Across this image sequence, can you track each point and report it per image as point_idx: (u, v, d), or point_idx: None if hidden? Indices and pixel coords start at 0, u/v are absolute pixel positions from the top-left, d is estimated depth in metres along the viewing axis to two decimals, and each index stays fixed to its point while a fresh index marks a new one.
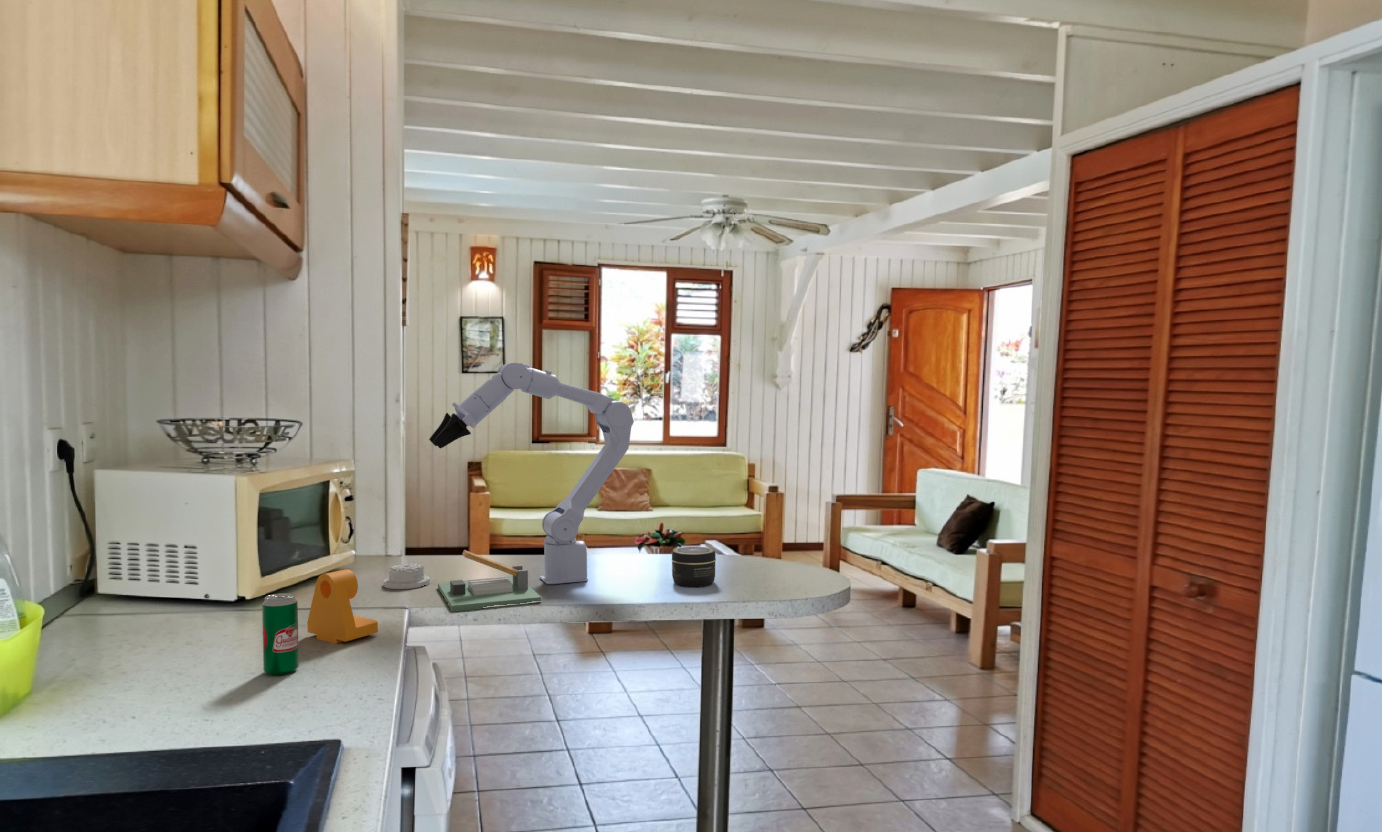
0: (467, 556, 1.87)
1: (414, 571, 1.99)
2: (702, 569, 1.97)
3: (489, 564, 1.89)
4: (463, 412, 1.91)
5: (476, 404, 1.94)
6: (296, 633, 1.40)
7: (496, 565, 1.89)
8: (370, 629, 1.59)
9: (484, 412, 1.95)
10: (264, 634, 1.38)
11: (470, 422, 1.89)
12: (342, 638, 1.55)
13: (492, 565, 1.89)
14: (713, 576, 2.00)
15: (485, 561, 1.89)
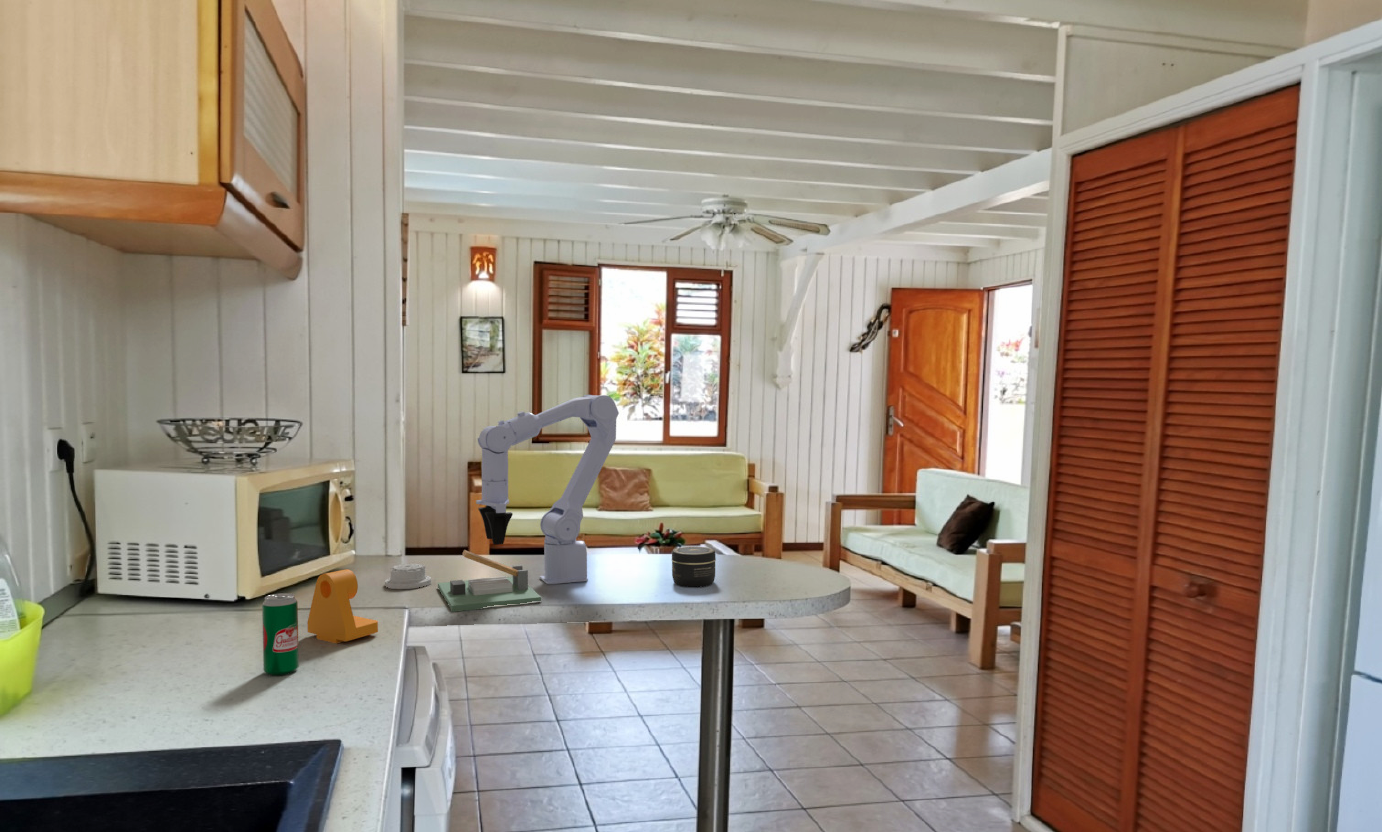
0: (467, 556, 1.87)
1: (415, 571, 1.99)
2: (702, 569, 1.97)
3: (489, 564, 1.89)
4: (491, 505, 1.92)
5: (493, 488, 1.94)
6: (296, 633, 1.40)
7: (496, 565, 1.89)
8: (370, 629, 1.59)
9: (504, 486, 1.95)
10: (264, 634, 1.38)
11: (504, 508, 1.90)
12: (342, 638, 1.55)
13: (492, 565, 1.89)
14: (713, 576, 2.00)
15: (485, 561, 1.89)
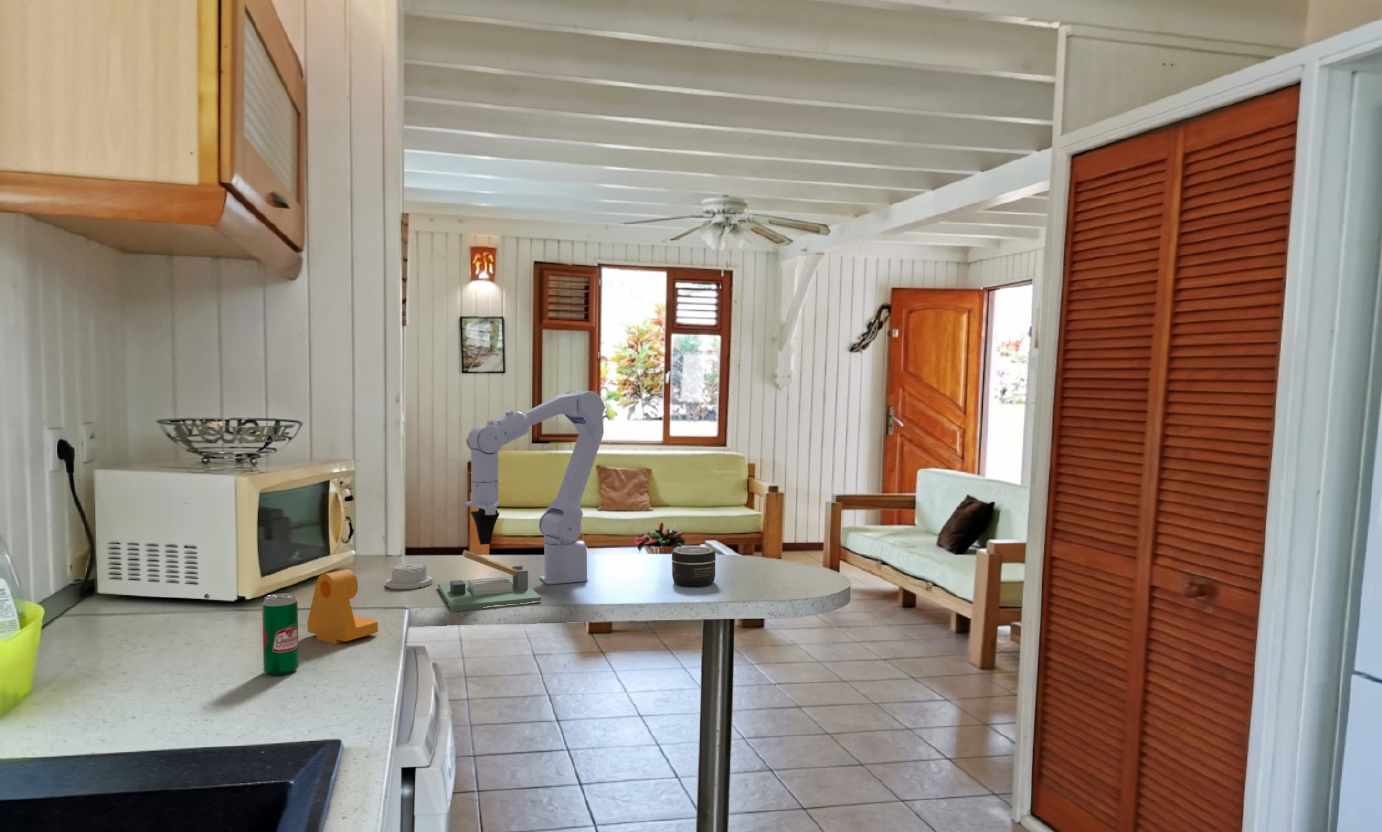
0: (467, 556, 1.87)
1: (417, 571, 1.99)
2: (702, 569, 1.97)
3: (489, 564, 1.89)
4: (481, 506, 1.88)
5: (483, 489, 1.90)
6: (296, 633, 1.40)
7: (496, 565, 1.89)
8: (370, 629, 1.59)
9: (494, 488, 1.92)
10: (264, 634, 1.38)
11: (493, 510, 1.87)
12: (342, 638, 1.55)
13: (492, 565, 1.89)
14: (713, 576, 2.00)
15: (485, 561, 1.89)
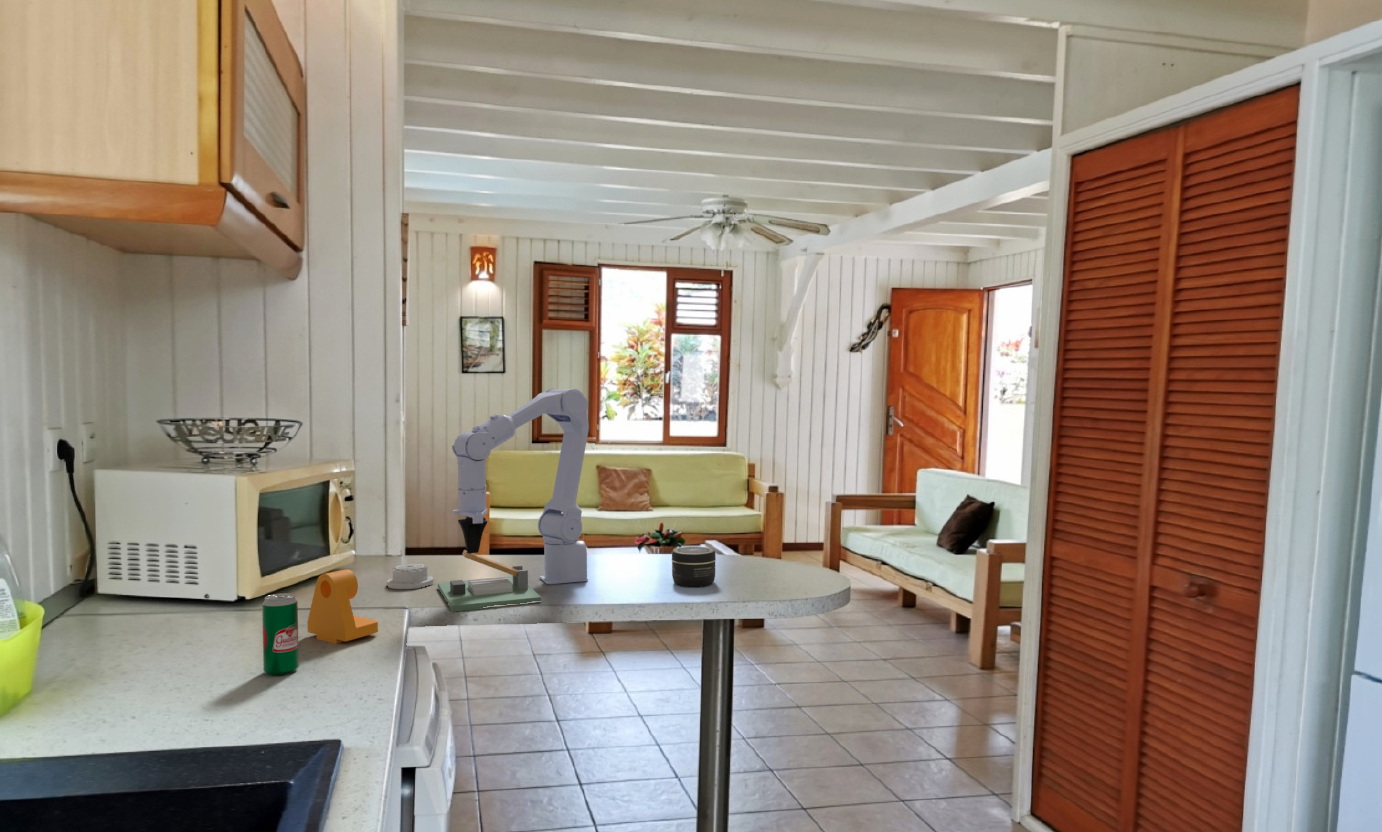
0: (467, 556, 1.87)
1: (418, 571, 1.99)
2: (702, 569, 1.97)
3: (489, 564, 1.89)
4: (468, 515, 1.84)
5: (470, 497, 1.86)
6: (296, 633, 1.40)
7: (496, 565, 1.89)
8: (370, 629, 1.59)
9: (482, 495, 1.87)
10: (264, 634, 1.38)
11: (481, 519, 1.82)
12: (342, 638, 1.55)
13: (492, 565, 1.89)
14: (713, 576, 2.00)
15: (485, 561, 1.89)
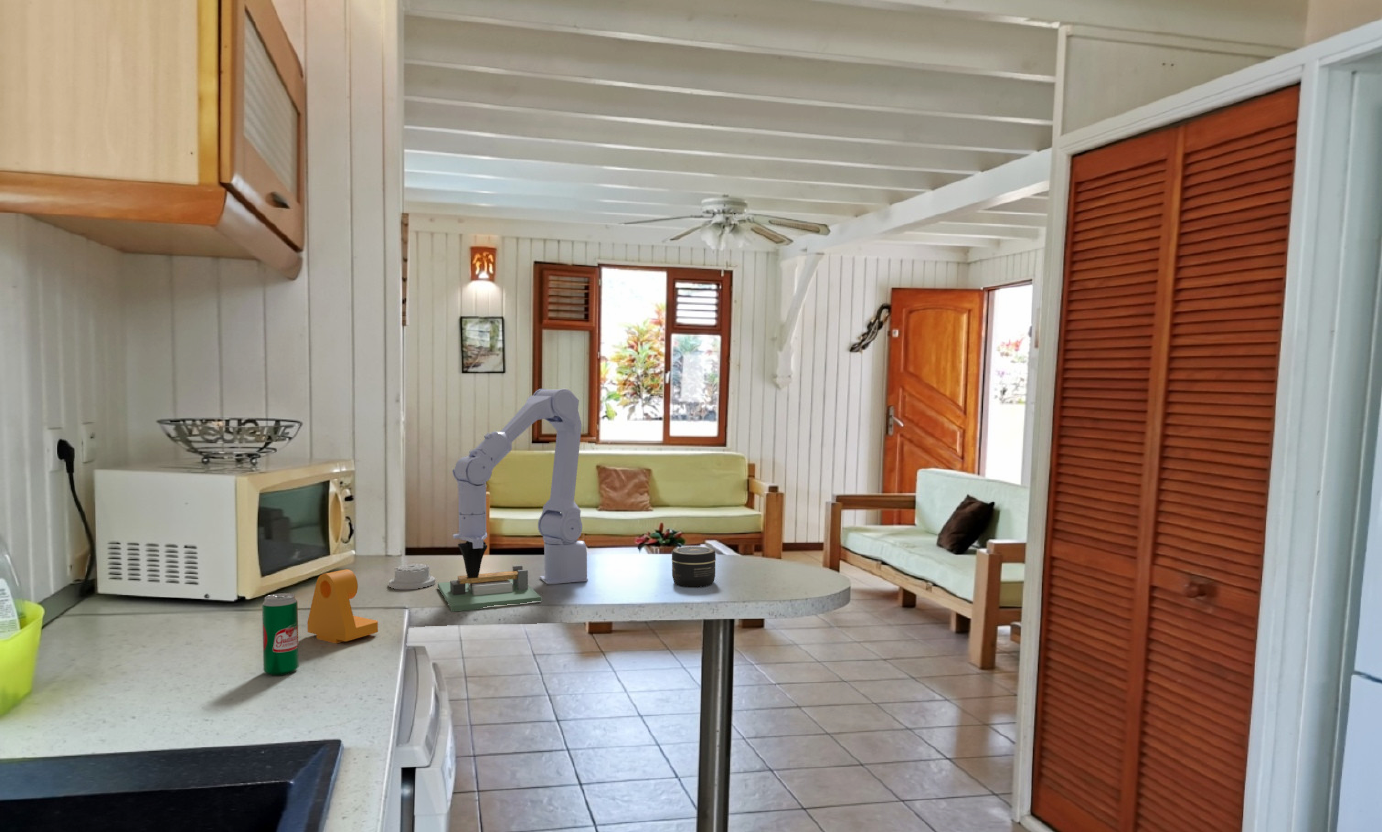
0: (462, 582, 1.87)
1: (420, 571, 1.98)
2: (702, 569, 1.97)
3: (486, 579, 1.89)
4: (468, 539, 1.84)
5: (470, 522, 1.86)
6: (296, 633, 1.40)
7: (493, 577, 1.89)
8: (370, 629, 1.59)
9: (482, 520, 1.87)
10: (264, 634, 1.38)
11: (481, 544, 1.83)
12: (342, 638, 1.55)
13: (489, 579, 1.89)
14: (713, 576, 2.00)
15: (481, 578, 1.88)
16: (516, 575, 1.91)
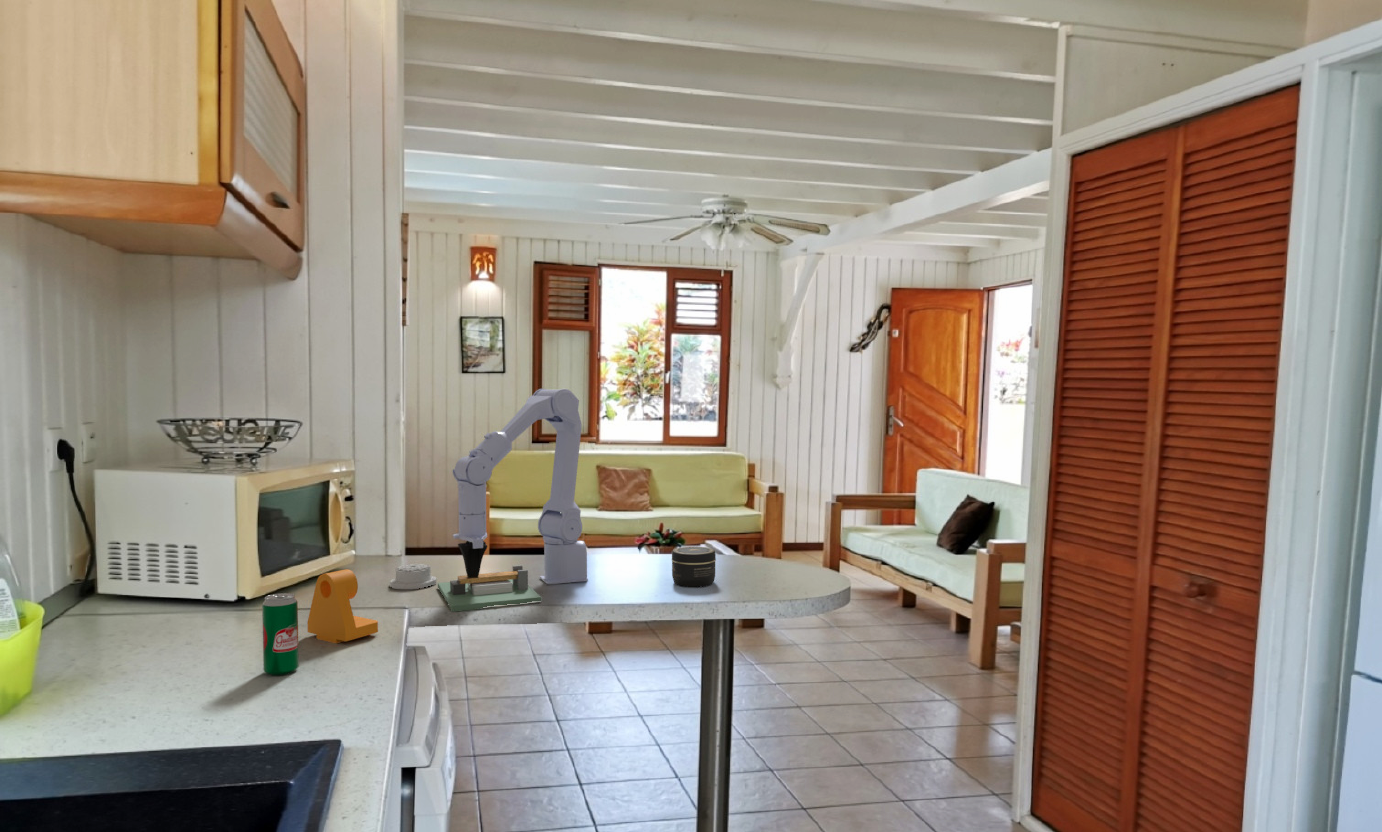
0: (462, 582, 1.87)
1: (421, 571, 1.98)
2: (702, 569, 1.97)
3: (486, 579, 1.89)
4: (468, 539, 1.84)
5: (470, 521, 1.86)
6: (296, 633, 1.40)
7: (493, 577, 1.89)
8: (370, 629, 1.59)
9: (482, 520, 1.87)
10: (264, 634, 1.38)
11: (481, 544, 1.83)
12: (342, 638, 1.55)
13: (489, 579, 1.89)
14: (713, 576, 2.00)
15: (481, 579, 1.88)
16: (516, 575, 1.91)
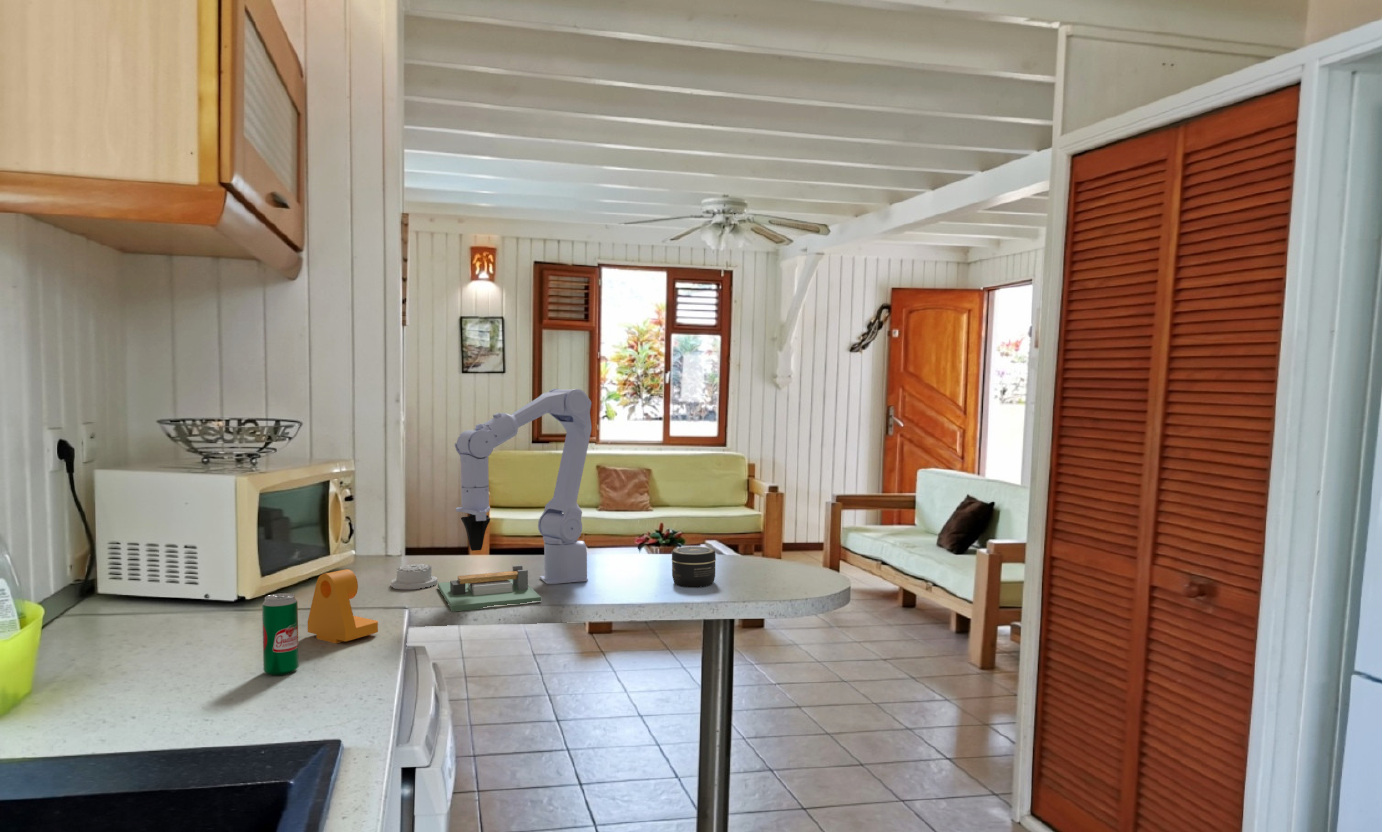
0: (462, 582, 1.87)
1: (422, 571, 1.98)
2: (702, 569, 1.97)
3: (486, 579, 1.89)
4: (471, 512, 1.85)
5: (473, 495, 1.87)
6: (296, 633, 1.40)
7: (493, 577, 1.89)
8: (370, 629, 1.59)
9: (485, 493, 1.88)
10: (264, 634, 1.38)
11: (484, 516, 1.83)
12: (342, 638, 1.55)
13: (489, 579, 1.89)
14: (713, 576, 2.00)
15: (481, 578, 1.88)
16: (516, 575, 1.91)
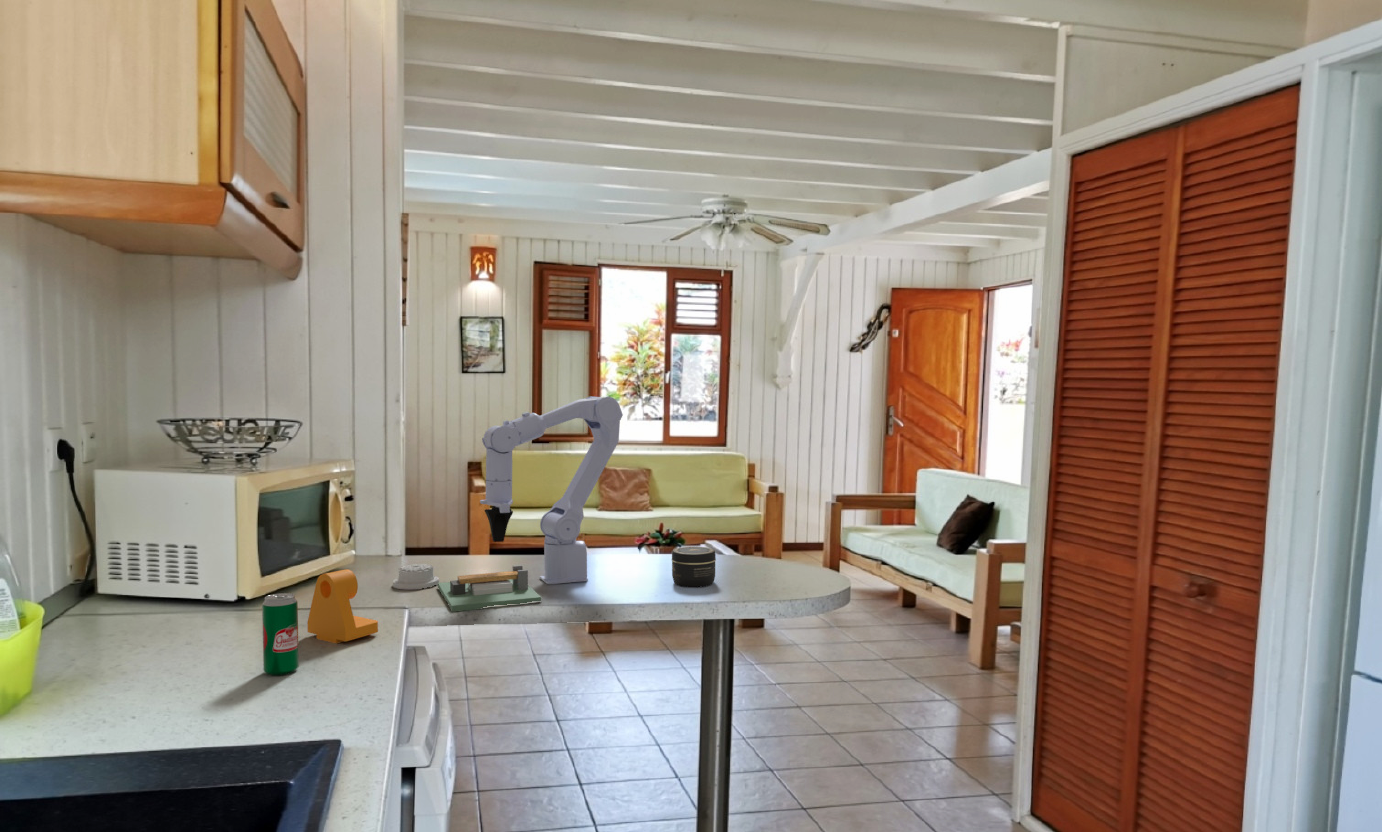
0: (462, 582, 1.87)
1: (424, 571, 1.98)
2: (702, 569, 1.97)
3: (486, 579, 1.89)
4: (495, 504, 1.92)
5: (497, 488, 1.94)
6: (296, 633, 1.40)
7: (493, 577, 1.89)
8: (370, 629, 1.59)
9: (508, 486, 1.95)
10: (264, 634, 1.38)
11: (508, 508, 1.90)
12: (342, 638, 1.55)
13: (489, 579, 1.89)
14: (713, 576, 2.00)
15: (481, 578, 1.88)
16: (516, 575, 1.91)
